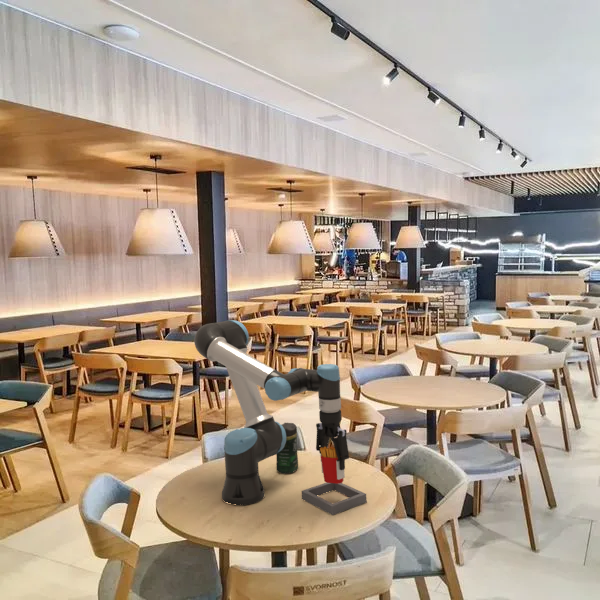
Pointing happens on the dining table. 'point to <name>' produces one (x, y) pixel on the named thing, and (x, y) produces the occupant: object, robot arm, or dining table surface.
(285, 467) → the coffee jar
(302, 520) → the dining table surface
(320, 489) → the gray square frame
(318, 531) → the dining table surface
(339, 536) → the dining table surface
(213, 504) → the dining table surface
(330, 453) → the french fries
